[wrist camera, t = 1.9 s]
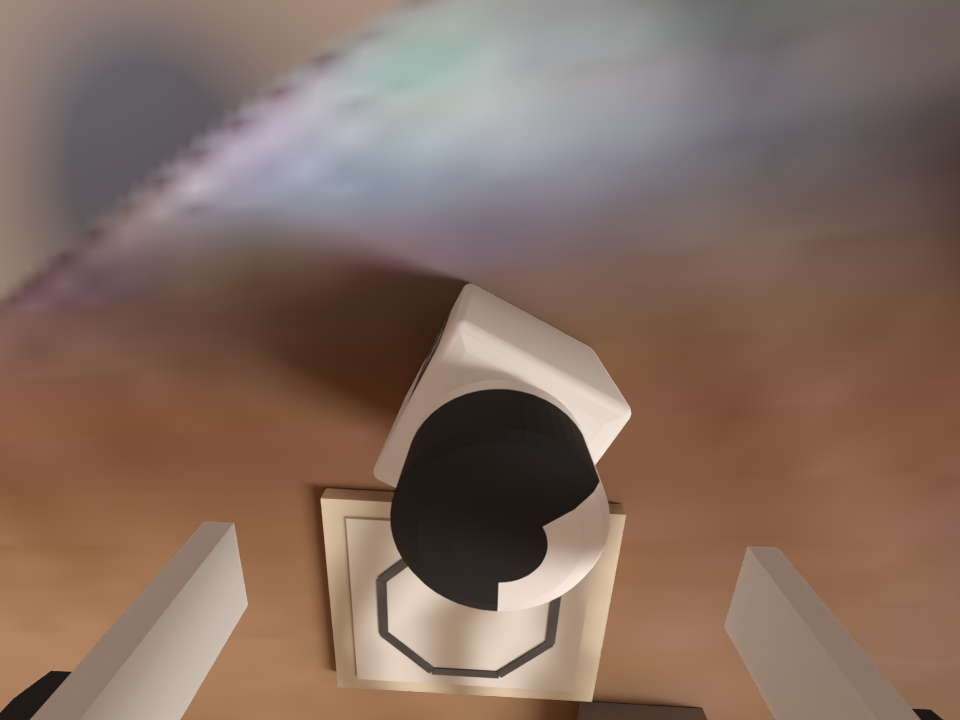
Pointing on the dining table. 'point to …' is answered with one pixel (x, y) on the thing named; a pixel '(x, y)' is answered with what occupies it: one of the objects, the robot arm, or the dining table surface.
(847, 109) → the dining table surface
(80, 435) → the dining table surface
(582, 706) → the button box
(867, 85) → the dining table surface
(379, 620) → the drawing board
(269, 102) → the dining table surface
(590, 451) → the container
